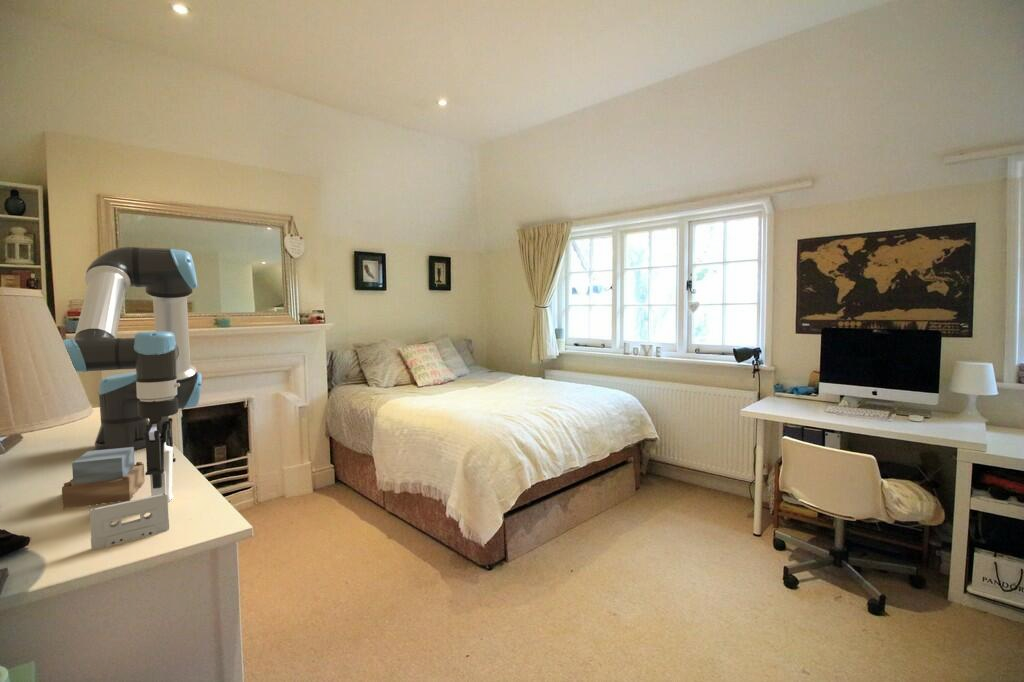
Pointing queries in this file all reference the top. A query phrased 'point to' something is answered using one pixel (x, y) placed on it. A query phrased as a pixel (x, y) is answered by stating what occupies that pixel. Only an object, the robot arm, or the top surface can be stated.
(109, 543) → the cassette
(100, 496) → the blue block on board
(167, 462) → the perfume bottle
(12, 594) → the top surface
